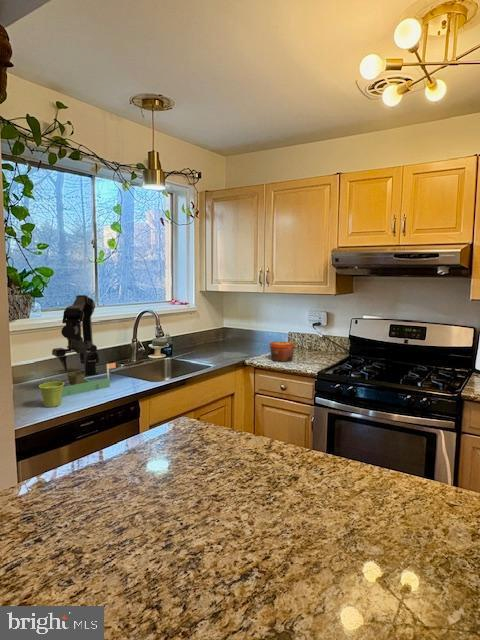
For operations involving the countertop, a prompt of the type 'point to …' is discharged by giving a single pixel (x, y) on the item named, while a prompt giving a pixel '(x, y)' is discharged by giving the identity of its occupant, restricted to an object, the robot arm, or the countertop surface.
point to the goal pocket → (88, 384)
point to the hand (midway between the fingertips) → (75, 368)
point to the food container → (282, 351)
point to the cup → (76, 377)
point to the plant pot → (52, 393)
